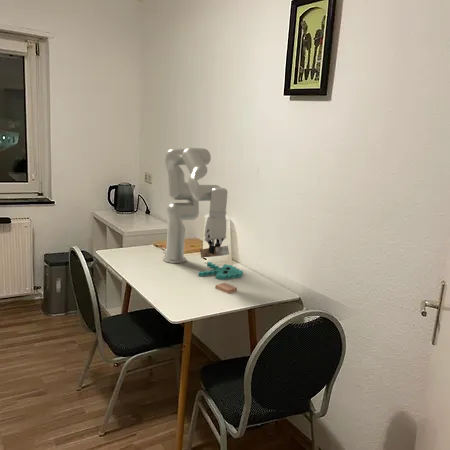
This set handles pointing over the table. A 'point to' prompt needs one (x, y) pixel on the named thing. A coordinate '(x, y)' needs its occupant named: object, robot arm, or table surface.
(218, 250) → the brown flat bar
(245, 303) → the table surface
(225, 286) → the tile
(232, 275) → the alien figure
